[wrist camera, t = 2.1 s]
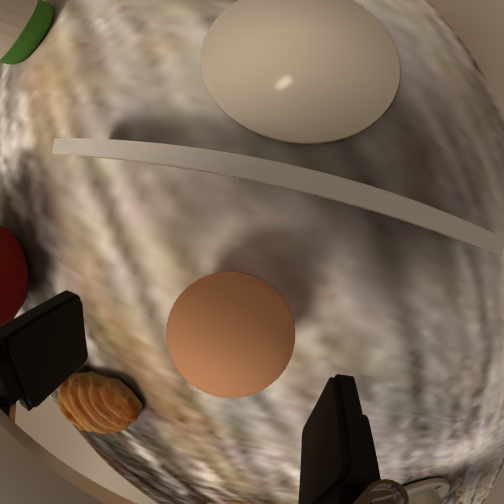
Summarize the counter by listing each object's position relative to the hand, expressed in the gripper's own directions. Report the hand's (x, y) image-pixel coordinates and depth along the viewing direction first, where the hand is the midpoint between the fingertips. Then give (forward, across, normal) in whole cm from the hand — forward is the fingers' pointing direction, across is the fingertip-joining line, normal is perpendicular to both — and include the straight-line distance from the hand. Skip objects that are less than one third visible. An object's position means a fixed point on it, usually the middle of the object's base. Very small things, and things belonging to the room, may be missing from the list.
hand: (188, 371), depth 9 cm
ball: (+4, -1, +1) cm, 4 cm away
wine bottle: (+8, +27, -20) cm, 35 cm away
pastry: (+7, +10, +14) cm, 19 cm away
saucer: (+7, -1, -14) cm, 16 cm away
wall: (+7, -1, -7) cm, 10 cm away
